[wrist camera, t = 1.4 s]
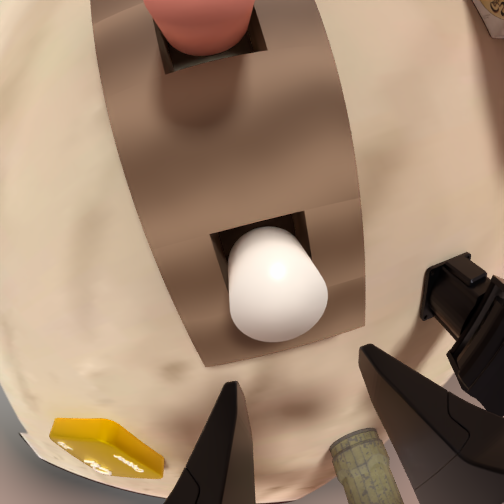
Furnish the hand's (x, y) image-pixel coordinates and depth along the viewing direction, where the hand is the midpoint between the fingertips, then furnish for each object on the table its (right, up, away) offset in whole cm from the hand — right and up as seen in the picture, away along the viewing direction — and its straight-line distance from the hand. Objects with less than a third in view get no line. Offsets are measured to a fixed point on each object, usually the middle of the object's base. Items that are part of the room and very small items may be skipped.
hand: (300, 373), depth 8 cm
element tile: (-25, -27, +23) cm, 43 cm away
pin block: (-3, +11, +8) cm, 14 cm away
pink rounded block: (-4, +16, +2) cm, 16 cm away
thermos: (+16, -28, +28) cm, 43 cm away
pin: (-1, +3, +7) cm, 8 cm away
